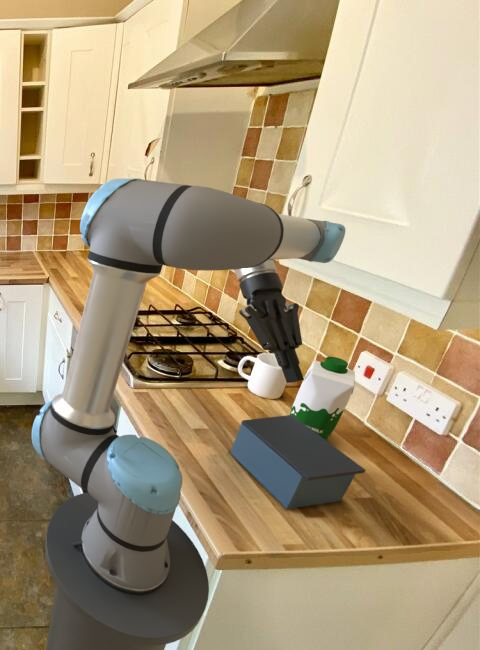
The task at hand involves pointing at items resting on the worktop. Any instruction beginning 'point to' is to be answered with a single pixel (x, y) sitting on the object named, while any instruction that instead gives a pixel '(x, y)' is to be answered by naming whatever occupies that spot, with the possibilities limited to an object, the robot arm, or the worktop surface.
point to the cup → (264, 376)
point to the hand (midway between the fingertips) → (295, 381)
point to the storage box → (285, 474)
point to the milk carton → (324, 395)
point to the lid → (302, 448)
